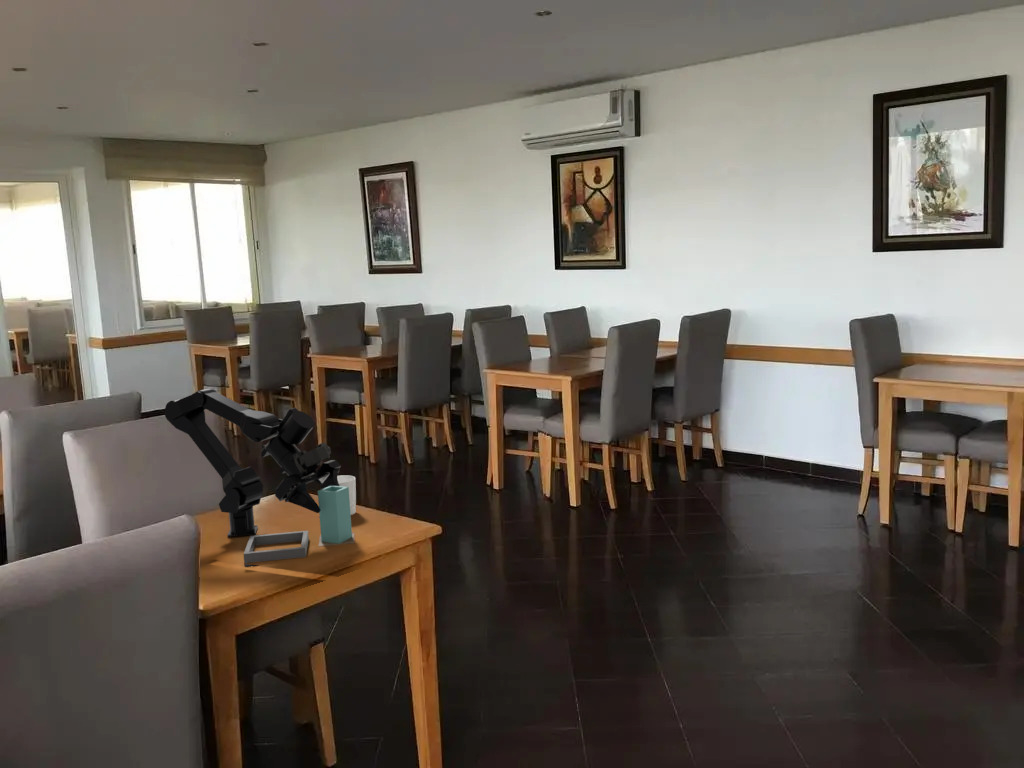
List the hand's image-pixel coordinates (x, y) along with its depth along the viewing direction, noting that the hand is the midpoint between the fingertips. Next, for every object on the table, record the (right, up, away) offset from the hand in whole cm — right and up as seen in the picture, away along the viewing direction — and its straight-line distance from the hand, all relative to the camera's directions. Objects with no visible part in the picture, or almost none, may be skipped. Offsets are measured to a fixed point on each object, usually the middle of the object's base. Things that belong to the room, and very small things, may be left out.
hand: (331, 506), depth 199 cm
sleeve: (+1, -8, +1) cm, 8 cm away
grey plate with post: (+1, -9, +1) cm, 9 cm away
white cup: (-2, -6, +22) cm, 23 cm away
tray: (-11, -10, -5) cm, 16 cm away
